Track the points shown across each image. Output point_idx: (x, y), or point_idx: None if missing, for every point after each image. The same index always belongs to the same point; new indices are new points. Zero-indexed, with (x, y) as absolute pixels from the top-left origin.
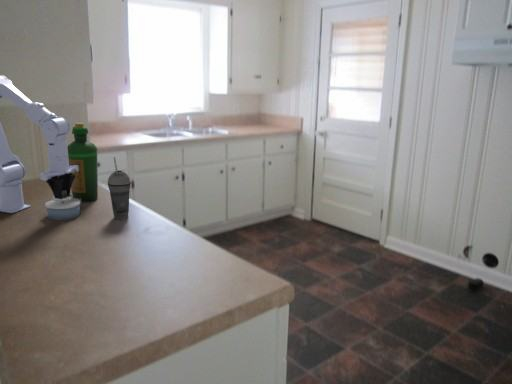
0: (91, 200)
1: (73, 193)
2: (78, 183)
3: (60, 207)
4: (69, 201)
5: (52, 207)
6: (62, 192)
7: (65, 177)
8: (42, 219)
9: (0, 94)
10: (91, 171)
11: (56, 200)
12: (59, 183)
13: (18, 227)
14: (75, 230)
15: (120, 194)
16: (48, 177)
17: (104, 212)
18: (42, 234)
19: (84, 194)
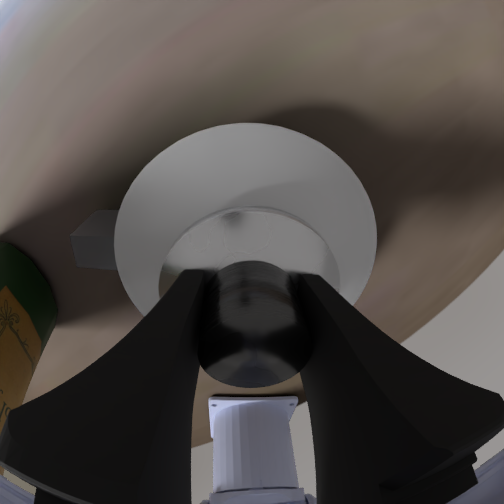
0: (12, 246)
1: (44, 338)
2: (1, 353)
3: (369, 202)
4: None
5: (374, 256)
6: (295, 311)
7: (175, 490)
8: None
9: None
10: None
11: (335, 286)
12: (450, 389)
13: (432, 287)
14: (433, 32)
15: None
16: (490, 477)
17: (106, 34)
18: (488, 153)
19: (15, 285)
